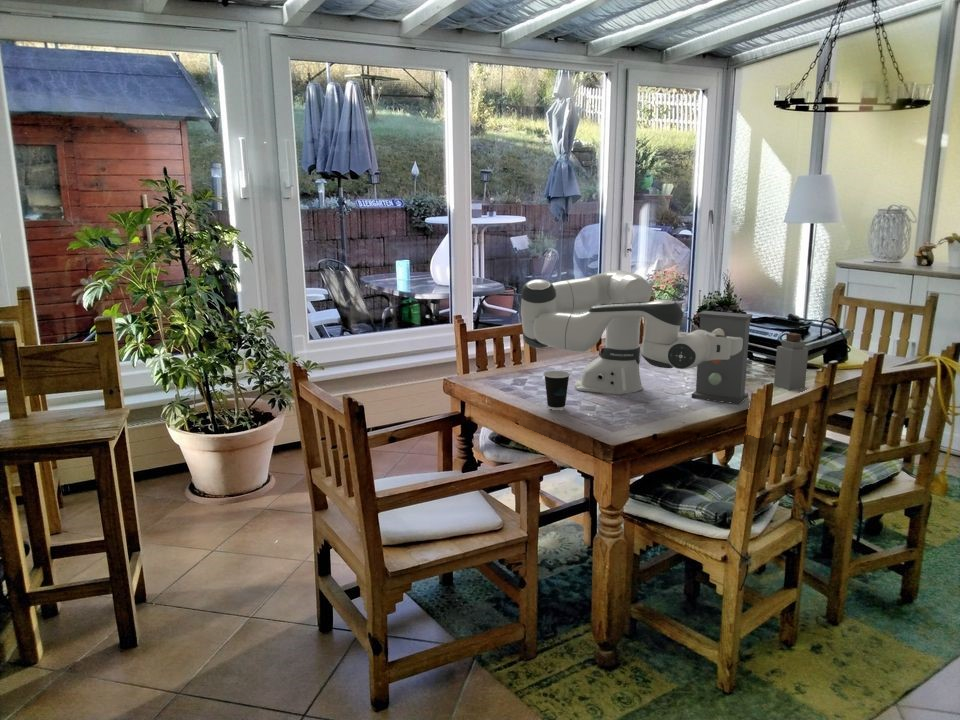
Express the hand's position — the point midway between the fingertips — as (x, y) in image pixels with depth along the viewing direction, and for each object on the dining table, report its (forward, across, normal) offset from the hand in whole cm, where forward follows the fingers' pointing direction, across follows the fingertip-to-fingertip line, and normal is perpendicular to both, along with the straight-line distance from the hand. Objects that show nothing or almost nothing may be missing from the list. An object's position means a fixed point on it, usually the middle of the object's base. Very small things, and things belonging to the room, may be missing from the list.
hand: (713, 337), depth 220 cm
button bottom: (+6, 0, -16) cm, 17 cm away
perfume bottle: (+36, +16, -22) cm, 45 cm away
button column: (+12, 0, -22) cm, 24 cm away
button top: (+6, 0, -2) cm, 6 cm away
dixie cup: (-26, -39, -22) cm, 52 cm away
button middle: (+6, 0, -9) cm, 10 cm away
